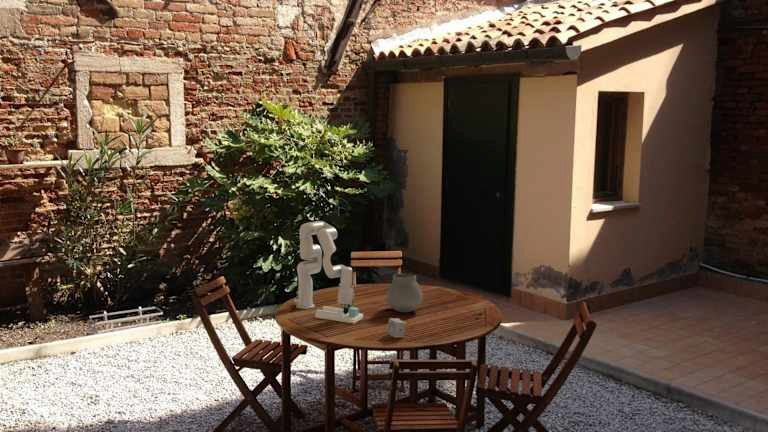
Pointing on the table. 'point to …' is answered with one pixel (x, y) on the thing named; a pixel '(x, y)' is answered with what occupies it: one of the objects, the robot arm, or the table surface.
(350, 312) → the block
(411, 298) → the ceramic pot
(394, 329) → the incense holder
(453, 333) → the table surface
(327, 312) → the deck
